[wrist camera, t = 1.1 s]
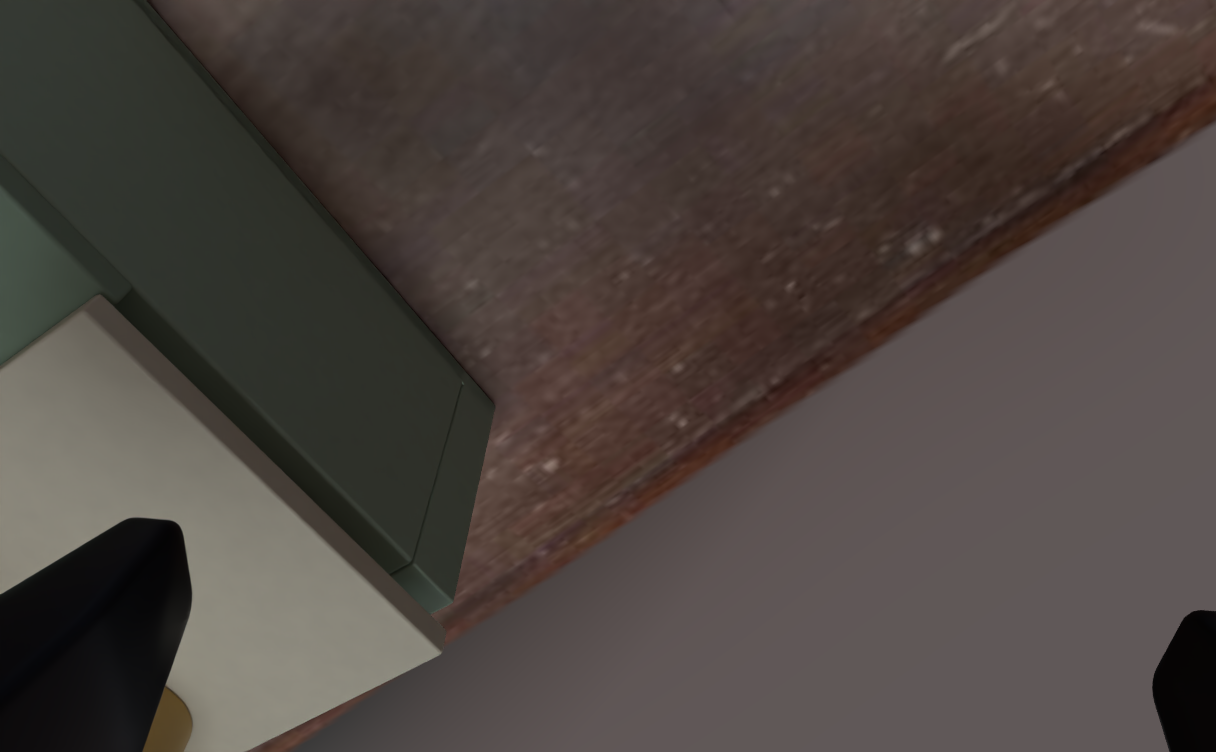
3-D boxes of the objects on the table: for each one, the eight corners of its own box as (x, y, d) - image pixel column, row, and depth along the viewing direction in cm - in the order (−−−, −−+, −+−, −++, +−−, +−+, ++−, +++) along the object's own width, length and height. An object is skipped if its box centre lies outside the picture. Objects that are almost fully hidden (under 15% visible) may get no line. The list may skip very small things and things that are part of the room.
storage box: (496, 406, 25) (448, 626, 18) (165, 598, 28) (26, 841, 22) (-30, -207, 18) (-401, -206, 12) (-377, 146, 22) (-809, 300, 15)
